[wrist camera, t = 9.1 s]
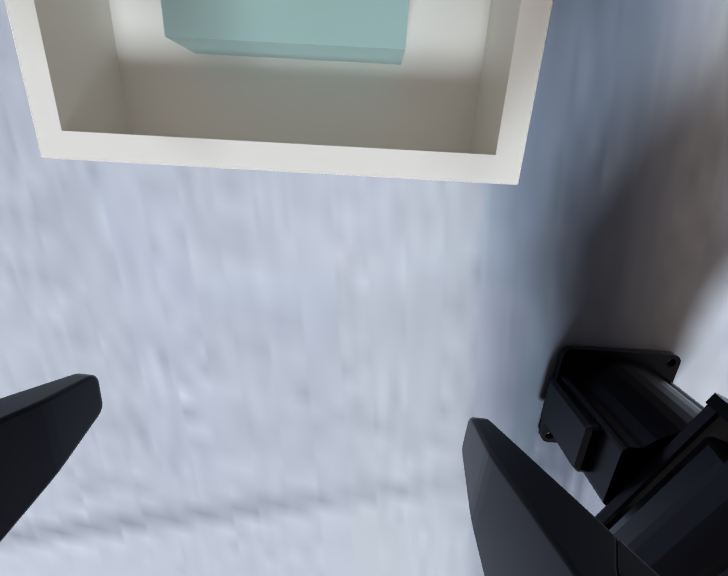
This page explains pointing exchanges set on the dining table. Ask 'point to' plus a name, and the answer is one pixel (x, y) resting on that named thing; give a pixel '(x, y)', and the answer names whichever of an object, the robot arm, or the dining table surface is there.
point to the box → (286, 83)
